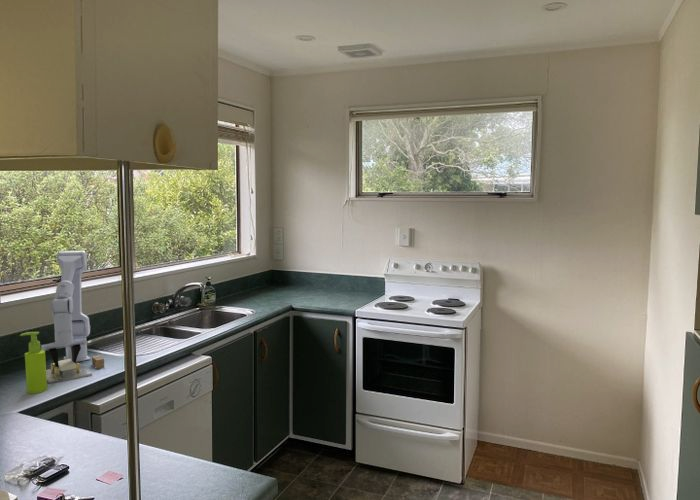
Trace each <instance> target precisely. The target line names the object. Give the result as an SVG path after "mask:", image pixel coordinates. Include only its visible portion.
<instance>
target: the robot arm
mask: <svg viewBox="0 0 700 500" xmlns="http://www.w3.org/2000/svg"><path fill="white" fill-rule="evenodd" d="M87 255H88V254H87V252H86V251H85V250H63V251H62V250H59V251H58V252H57V253H56V263H57V266H58V267H59V269H60V270H61V275H60V276H61V278H60V281H59V282H58V283H57V285H56V289H55V293H54V299H52V300H51V302H50V311H51V315H52V316H51V317H52V319H53V325H54V328H53V329H54V342H50V343H46V344H40V348H41V350H43V351H45V352H46V351H47V352H48V353H49V355H50V356H51V358H52V361H53V363H54V364H55V367H58V369H59V365H58V361H59V351H58V350H57V349H63V348H65V355H66V356H64V357H63V360H66V359H71V360H72V361H73V362H74V363H75V364H76V363H79V362H83V361H89V360H91V357H90V356H88V345H87V337H89V335H90V334H91V324H90V317H89V316H87V315H86V314H84V313H83V309H82V308H83V306H82V304H83V303H82V298H83V297H82V277H83V273H84V272H86V271H87V268H88V258H87V257H88V256H87Z"/></svg>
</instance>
